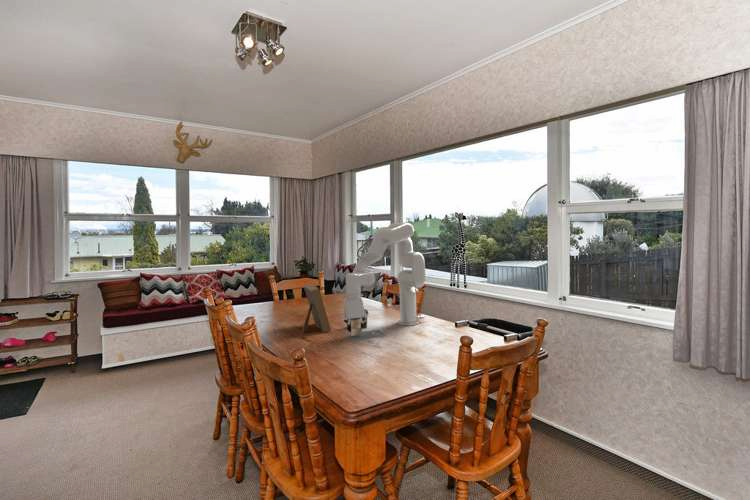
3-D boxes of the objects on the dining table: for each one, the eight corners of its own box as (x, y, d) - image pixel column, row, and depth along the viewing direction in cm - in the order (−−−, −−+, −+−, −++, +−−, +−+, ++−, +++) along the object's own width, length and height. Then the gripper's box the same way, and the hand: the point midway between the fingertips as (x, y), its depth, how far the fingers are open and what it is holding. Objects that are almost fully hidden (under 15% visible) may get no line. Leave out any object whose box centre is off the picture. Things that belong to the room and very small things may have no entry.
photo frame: (321, 322, 234) (319, 282, 232) (331, 331, 214) (328, 287, 212) (297, 326, 229) (294, 284, 227) (304, 335, 208) (302, 290, 207)
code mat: (378, 329, 214) (378, 329, 214) (388, 336, 201) (388, 336, 201) (344, 334, 208) (344, 333, 208) (351, 341, 195) (351, 341, 195)
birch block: (358, 332, 206) (357, 317, 205) (361, 334, 201) (360, 319, 200) (349, 333, 204) (348, 318, 203) (351, 335, 199) (351, 320, 199)
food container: (370, 325, 225) (369, 308, 224) (369, 328, 218) (368, 310, 218) (349, 325, 226) (348, 308, 225) (347, 328, 220) (347, 311, 219)
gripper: (366, 294, 208) (367, 327, 209) (336, 297, 202) (337, 331, 203) (371, 296, 200) (372, 330, 202) (339, 299, 195) (341, 334, 196)
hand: (354, 330), depth 202 cm, fingers open, 5 cm apart
